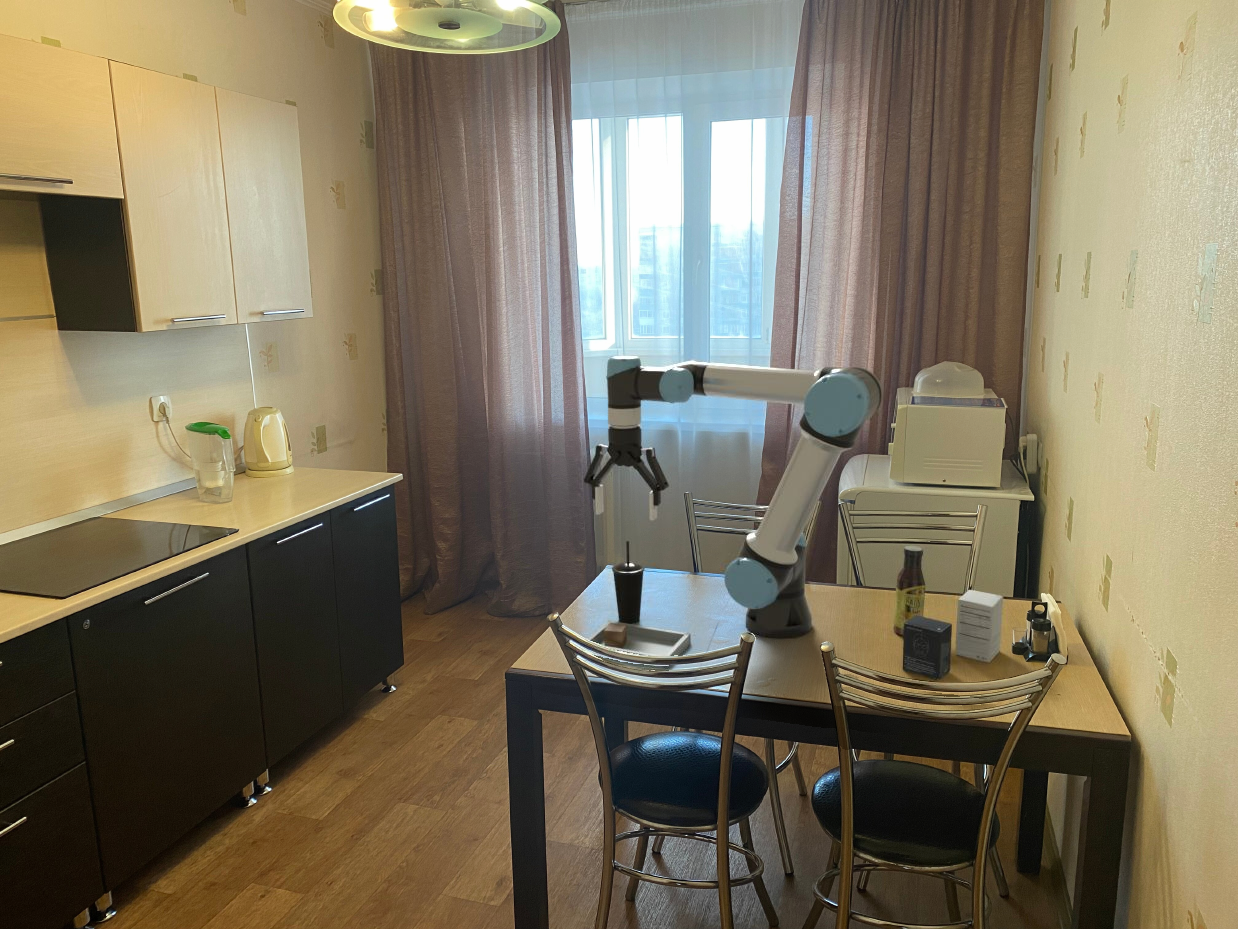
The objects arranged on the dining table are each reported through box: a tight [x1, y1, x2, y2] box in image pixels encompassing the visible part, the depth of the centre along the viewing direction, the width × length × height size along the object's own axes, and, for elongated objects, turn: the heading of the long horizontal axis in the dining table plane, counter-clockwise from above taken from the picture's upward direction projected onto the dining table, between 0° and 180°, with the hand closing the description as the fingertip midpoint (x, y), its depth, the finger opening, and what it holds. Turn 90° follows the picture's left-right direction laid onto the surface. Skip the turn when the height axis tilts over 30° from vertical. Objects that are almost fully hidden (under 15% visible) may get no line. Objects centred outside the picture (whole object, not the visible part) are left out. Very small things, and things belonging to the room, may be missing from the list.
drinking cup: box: [611, 540, 646, 625], centre depth 211 cm, size 8×8×20 cm
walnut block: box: [604, 624, 627, 649], centre depth 199 cm, size 4×4×4 cm
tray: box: [586, 620, 692, 669], centre depth 197 cm, size 20×14×3 cm
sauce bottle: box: [893, 545, 927, 636], centre depth 201 cm, size 7×6×20 cm
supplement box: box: [954, 589, 1004, 663], centre depth 191 cm, size 7×7×13 cm
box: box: [902, 615, 953, 681], centre depth 183 cm, size 8×6×11 cm
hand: (626, 516), depth 208 cm, fingers open, 13 cm apart
